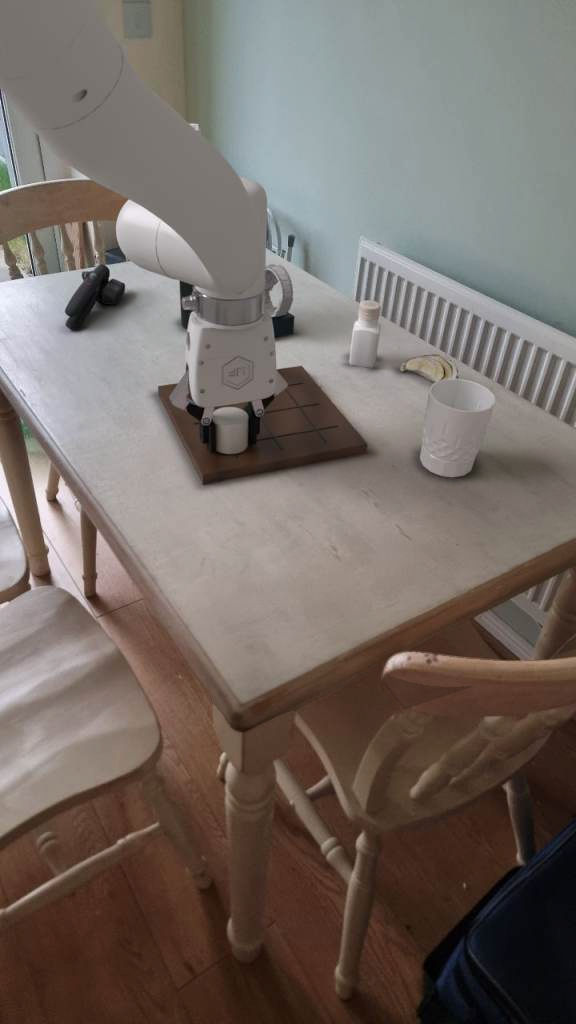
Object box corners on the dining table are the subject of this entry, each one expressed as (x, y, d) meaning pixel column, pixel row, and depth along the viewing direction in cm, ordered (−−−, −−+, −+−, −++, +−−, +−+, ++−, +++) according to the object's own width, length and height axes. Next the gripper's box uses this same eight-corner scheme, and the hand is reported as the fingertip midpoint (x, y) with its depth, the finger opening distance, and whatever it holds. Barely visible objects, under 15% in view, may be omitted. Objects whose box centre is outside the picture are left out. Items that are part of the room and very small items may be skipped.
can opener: (94, 289, 126) (90, 258, 123) (130, 294, 125) (127, 262, 122) (49, 329, 113) (43, 295, 109) (89, 335, 112) (85, 301, 108)
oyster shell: (410, 402, 109) (467, 390, 102) (396, 395, 107) (453, 382, 100) (412, 366, 110) (468, 352, 103) (399, 358, 108) (455, 343, 101)
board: (202, 484, 83) (202, 473, 82) (158, 395, 98) (157, 385, 97) (366, 453, 90) (367, 442, 89) (300, 374, 105) (301, 364, 104)
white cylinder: (217, 457, 85) (217, 429, 82) (206, 437, 88) (206, 409, 85) (253, 450, 86) (253, 423, 84) (241, 431, 89) (241, 404, 87)
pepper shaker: (373, 369, 108) (382, 311, 102) (348, 366, 108) (355, 307, 102) (376, 358, 111) (384, 301, 105) (351, 354, 111) (358, 297, 105)
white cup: (439, 438, 94) (454, 372, 87) (488, 464, 90) (508, 397, 83) (402, 460, 89) (416, 391, 83) (453, 488, 85) (471, 419, 79)
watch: (273, 319, 120) (275, 255, 113) (299, 338, 115) (304, 272, 108) (245, 326, 118) (246, 261, 111) (271, 345, 113) (273, 278, 106)
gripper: (161, 326, 70) (171, 471, 82) (314, 308, 75) (303, 447, 87) (144, 297, 75) (156, 438, 87) (288, 282, 81) (281, 416, 92)
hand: (229, 441), depth 87 cm, fingers closed on white cylinder, 4 cm apart
